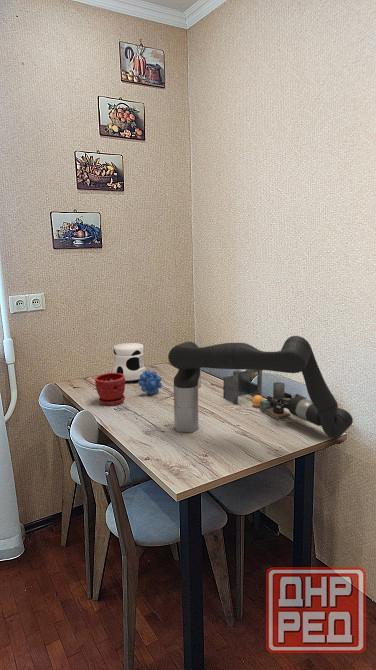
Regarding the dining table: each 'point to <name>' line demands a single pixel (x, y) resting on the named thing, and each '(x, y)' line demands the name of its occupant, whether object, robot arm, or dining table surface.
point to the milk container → (129, 361)
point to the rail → (276, 417)
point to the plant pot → (110, 388)
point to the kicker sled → (277, 393)
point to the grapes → (150, 382)
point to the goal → (241, 385)
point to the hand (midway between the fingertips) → (276, 396)
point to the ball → (257, 400)
